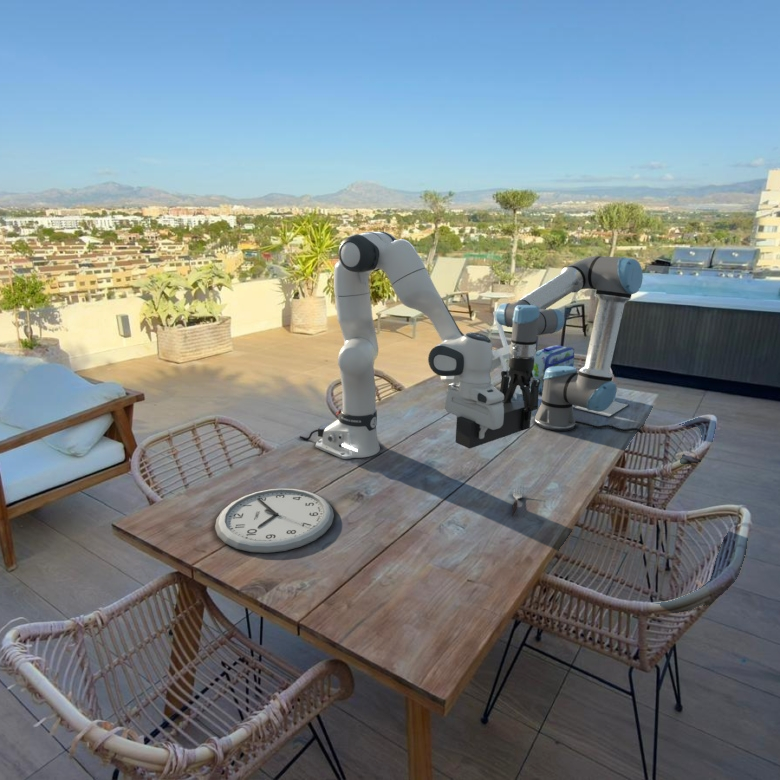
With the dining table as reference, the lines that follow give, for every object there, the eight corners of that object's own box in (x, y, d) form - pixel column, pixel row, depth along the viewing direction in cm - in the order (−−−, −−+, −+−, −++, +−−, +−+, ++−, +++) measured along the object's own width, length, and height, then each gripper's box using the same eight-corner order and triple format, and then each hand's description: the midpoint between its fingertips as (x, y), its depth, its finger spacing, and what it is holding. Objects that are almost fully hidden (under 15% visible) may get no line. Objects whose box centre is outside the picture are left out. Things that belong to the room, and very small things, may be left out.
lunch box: (546, 398, 236) (551, 353, 229) (525, 393, 243) (529, 349, 237) (573, 387, 253) (579, 344, 247) (553, 382, 260) (558, 341, 254)
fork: (506, 517, 138) (507, 510, 138) (514, 490, 152) (515, 483, 152) (516, 518, 137) (517, 512, 137) (523, 491, 152) (524, 485, 151)
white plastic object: (461, 429, 252) (437, 405, 227) (444, 352, 274) (420, 323, 250) (535, 404, 240) (518, 377, 215) (510, 326, 262) (492, 293, 237)
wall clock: (332, 544, 122) (200, 548, 120) (332, 550, 123) (201, 555, 120) (334, 484, 151) (228, 486, 148) (334, 489, 151) (228, 491, 149)
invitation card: (608, 416, 214) (573, 407, 224) (608, 416, 214) (573, 408, 224) (628, 404, 229) (594, 396, 238) (628, 405, 229) (594, 397, 238)
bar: (515, 422, 172) (517, 400, 170) (529, 428, 168) (532, 404, 166) (455, 442, 156) (456, 417, 153) (469, 448, 151) (471, 423, 149)
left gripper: (441, 382, 157) (439, 426, 161) (493, 400, 141) (490, 447, 145) (456, 379, 160) (454, 421, 165) (509, 396, 145) (504, 442, 149)
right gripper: (490, 351, 166) (485, 419, 173) (540, 364, 152) (532, 438, 158) (505, 348, 170) (500, 415, 177) (556, 360, 156) (547, 432, 163)
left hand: (471, 434), depth 155 cm, fingers closed on bar, 6 cm apart
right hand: (515, 425), depth 168 cm, fingers open, 6 cm apart
